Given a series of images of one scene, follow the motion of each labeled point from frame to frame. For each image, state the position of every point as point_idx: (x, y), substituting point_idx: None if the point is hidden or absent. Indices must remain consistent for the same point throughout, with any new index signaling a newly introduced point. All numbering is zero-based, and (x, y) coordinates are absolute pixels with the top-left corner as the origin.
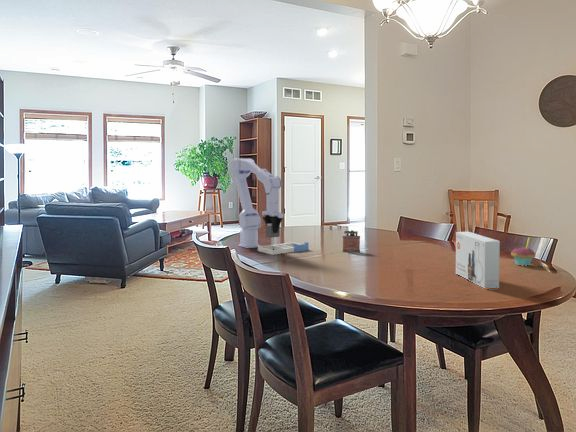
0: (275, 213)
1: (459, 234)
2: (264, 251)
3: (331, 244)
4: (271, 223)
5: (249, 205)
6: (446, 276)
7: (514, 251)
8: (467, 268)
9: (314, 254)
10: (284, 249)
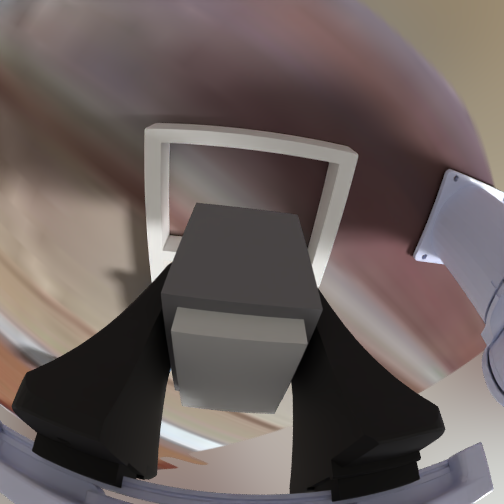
0: (6, 496)
1: None
2: (259, 132)
3: (210, 418)
4: (272, 387)
5: None
6: None
7: None
8: None
9: (65, 291)
10: (148, 230)
